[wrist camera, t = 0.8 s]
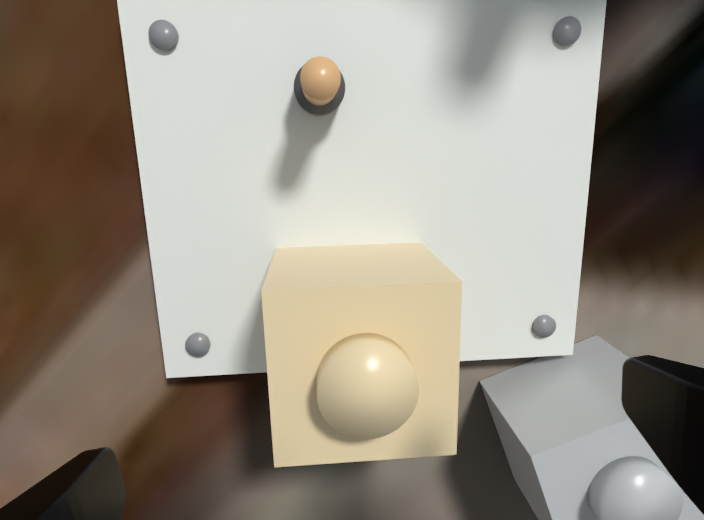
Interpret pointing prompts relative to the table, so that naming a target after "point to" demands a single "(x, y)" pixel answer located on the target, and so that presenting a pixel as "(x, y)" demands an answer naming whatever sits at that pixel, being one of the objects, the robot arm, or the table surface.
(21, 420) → the table surface
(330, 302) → the beige block
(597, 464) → the grey block
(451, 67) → the junction plate
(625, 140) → the table surface
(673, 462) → the robot arm
